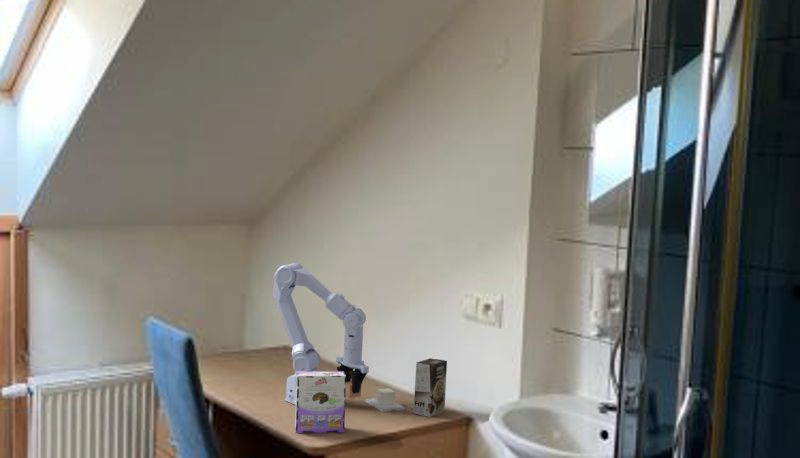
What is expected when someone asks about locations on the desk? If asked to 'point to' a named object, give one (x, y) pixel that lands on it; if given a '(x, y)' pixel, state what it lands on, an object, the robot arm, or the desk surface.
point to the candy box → (320, 402)
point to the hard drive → (385, 407)
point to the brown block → (349, 391)
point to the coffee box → (430, 387)
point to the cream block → (385, 396)
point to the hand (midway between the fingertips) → (350, 390)
